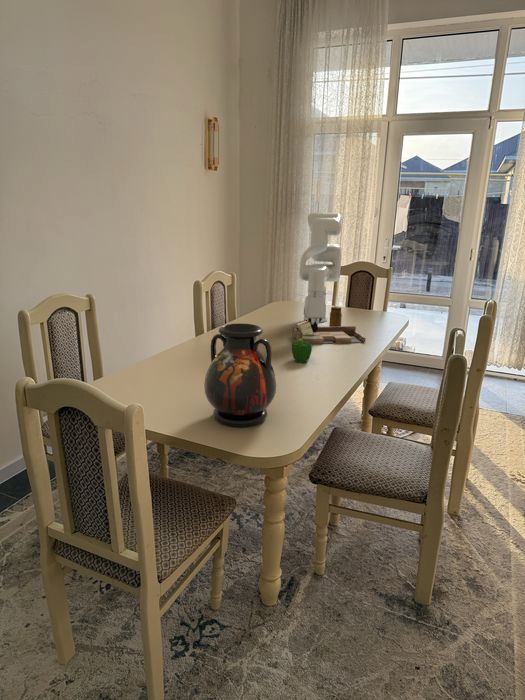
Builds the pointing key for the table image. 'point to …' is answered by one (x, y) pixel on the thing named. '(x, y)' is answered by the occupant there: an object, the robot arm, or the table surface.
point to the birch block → (305, 328)
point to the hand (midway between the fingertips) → (313, 331)
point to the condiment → (335, 317)
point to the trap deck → (331, 335)
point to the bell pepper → (301, 350)
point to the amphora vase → (240, 376)
